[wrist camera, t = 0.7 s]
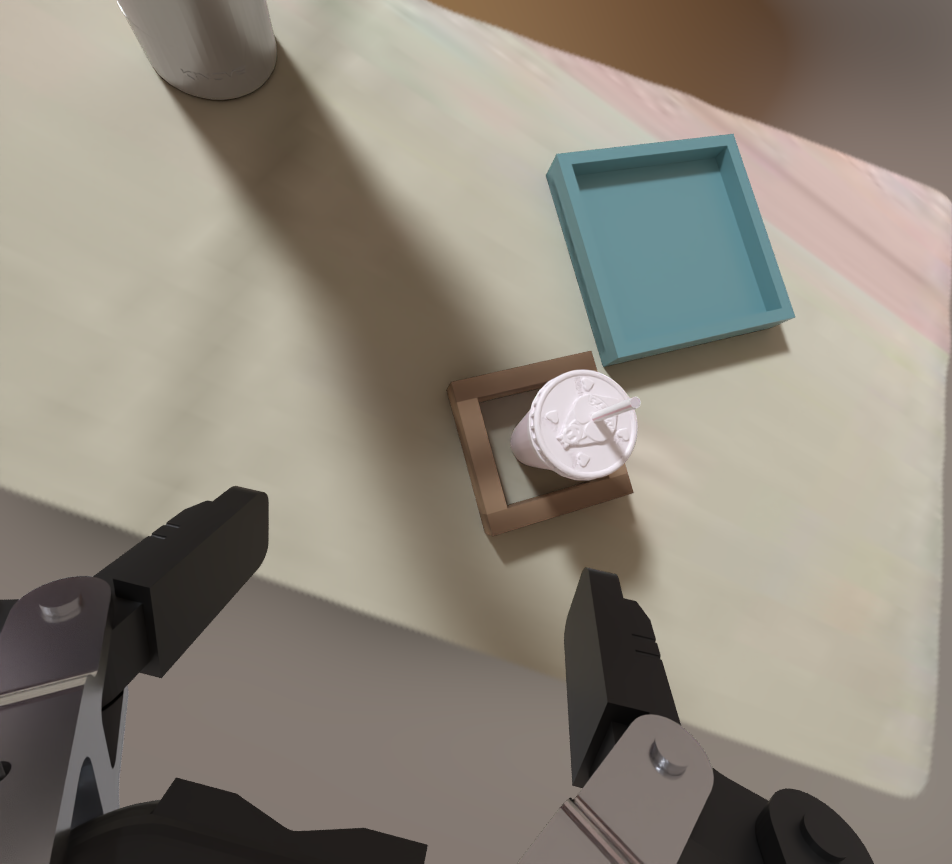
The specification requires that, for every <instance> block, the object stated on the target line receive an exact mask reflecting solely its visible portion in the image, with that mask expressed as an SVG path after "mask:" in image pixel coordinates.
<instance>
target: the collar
mask: <svg viewBox="0 0 952 864" xmlns="http://www.w3.org/2000/svg"><path fill="white" fill-rule="evenodd" d="M573 370H592V371H596V372H598V371H597V368H596V365H595V361H594V358H593V355H592V351H588V352H583V353H579V354H574V355H570V356H565V357H561V358H556V359H552V360H547V361H543V362H538V363H534V364H529V365H525V366H520V367H516V368H511V369H507V370H502V371H498V372H494V373H489V374H485V375H480V376H476V377H471V378H467V379H462V380H458V381H453V382H451V383H450V385H449V387H448V388H447V393H448V397H449V401H450V405H451V408H452V412H453V416H454V419H455V423H456V427H457V431H458V434H459V438H460V442H461V446H462V449H463V453H464V457H465V460H466V464H467V468H468V472H469V475H470V479H471V483H472V487H473V490H474V494H475V498H476V501H477V505H478V509H479V513H480V516H481V520H482V524H483V528H484V531H485V533H486V534H488V535H491V536H495V535H498V534H502V533H505V532H508V531H511V530H515V529H518V528H521V527H524V526H528V525H531V524H534V523H537V522H541V521H544V520H547V519H550V518H554V517H557V516H560V515H563V514H567V513H570V512H573V511H576V510H580V509H583V508H586V507H589V506H593V505H596V504H599V503H602V502H606V501H609V500H612V499H615V498H619V497H622V496H625V495H628V494H632V493H634V492H633V489H632V486H631V482H630V479H629V476H628V472H627V469H626V466H625V463H624V464H623V465H622V466H621V467H620V468H619V469H617V470H616V471H615V472H613V473H611V474H609V475H607V476H604V477H600V478H596V479H594V480H591V481H588V482H585V483H581V484H578V485H574V486H571V487H568V488H564V489H561V490H557V491H554V492H551V493H547V494H544V495H540V496H537V497H534V498H530V499H527V500H523V501H520V502H517V503H513V504H510V505H506V501H505V497H504V494H503V490H502V486H501V483H500V479H499V476H498V472H497V468H496V465H495V461H494V457H493V454H492V450H491V446H490V443H489V439H488V435H487V432H486V428H485V424H484V421H483V417H482V413H481V410H480V406H479V402H484V401H488V400H492V399H496V398H501V397H505V396H509V395H513V394H517V393H522V392H526V391H530V390H534V389H539V388H542V387H543V386H544V385H545V384H546V383H547V382H548V381H550V380H552V379H554V378H556V377H558V376H559V375H562V374H564V373H566V372H569V371H573Z"/></svg>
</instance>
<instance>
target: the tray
mask: <svg viewBox="0 0 952 864" xmlns="http://www.w3.org/2000/svg"><path fill="white" fill-rule="evenodd" d="M546 177H547V181H548V184H549V187H550V191H551V194H552V197H553V201H554V204H555V207H556V211H557V214H558V217H559V221H560V224H561V227H562V231H563V234H564V237H565V241H566V244H567V247H568V251H569V254H570V258H571V261H572V264H573V268H574V271H575V274H576V278H577V281H578V284H579V288H580V291H581V294H582V298H583V301H584V304H585V308H586V311H587V314H588V318H589V321H590V324H591V328H592V331H593V334H594V338H595V341H596V344H597V348H598V351H599V355H600V358H601V361H602V365H603V367H605V366H609V365H614V364H618V363H622V362H626V361H631V360H635V359H639V358H644V357H648V356H652V355H656V354H661V353H665V352H669V351H674V350H678V349H682V348H686V347H691V346H695V345H699V344H704V343H708V342H712V341H716V340H721V339H725V338H729V337H734V336H738V335H742V334H746V333H751V332H755V331H759V330H764V329H768V328H772V327H774V326H776V325H779V324H781V323H783V322H785V321H788V320H790V319H792V318H795V315H794V312H793V309H792V306H791V303H790V300H789V297H788V294H787V291H786V288H785V285H784V282H783V279H782V276H781V273H780V270H779V267H778V264H777V262H776V259H775V256H774V253H773V250H772V247H771V244H770V241H769V238H768V235H767V232H766V229H765V226H764V223H763V220H762V217H761V214H760V211H759V208H758V205H757V202H756V199H755V196H754V194H753V191H752V188H751V185H750V182H749V179H748V176H747V173H746V170H745V167H744V164H743V161H742V158H741V155H740V152H739V149H738V146H737V143H736V140H735V137H734V134H728V135H719V136H710V137H702V138H693V139H684V140H675V141H666V142H658V143H649V144H640V145H631V146H623V147H614V148H605V149H596V150H587V151H579V152H570V153H561V154H557V155H556V157H555V158H554V160H553V162H552V164H551V166H550V168H549V170H548V172H547V174H546Z"/></svg>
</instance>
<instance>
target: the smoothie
mask: <svg viewBox="0 0 952 864" xmlns="http://www.w3.org/2000/svg"><path fill="white" fill-rule="evenodd" d="M640 404H641V402H640V399H639V398H637V397H632V398H629V396H628V395H627V393H626V392H625V391H624V390H623V388H622V387H621V386H620V385H619V384H618V383H616V382H615V381H614V380H613V379H611V378H610V377H608V376H606V375H604V374H602V373H599V372H596V371H592V370H573V371H569V372H566V373H564V374H562V375H559V376H558V377H556V378H554V379H552V380H550V381H548V382H547V383H546V384H545V385H544V386H543V387H542V388H541V389H540V390H539V392H538V393H537V395H536V397H535V398H534V400H533V402H532V405H531V409H530V410H529V412H528V413H527V414H526V415H525V416H524V418H523V419H522V420H521V421H520V422H519V424H518V425H517V426H516V427H515V429H514V430H513V432H512V435H511V441H510V443H511V449H512V452H513V454H514V455H515V457H516V458H517V459H518V460H519V461H520V462H521V463H523V464H525V465H527V466H532V467H537V468H543V469H548V470H553V471H555V472H556V473H558V474H559V475H561V476H563V477H567V478H570V479H573V480H592V479H596V478H600V477H604V476H607V475H609V474H611V473H613V472H615V471H616V470H617V469H619V468H620V467H621V466H622V465H623V464H624V463H625V462H626V461H627V459H628V458H629V456H630V455H631V453H632V451H633V449H634V446H635V443H636V439H637V429H638V426H637V417H636V413H635V409H636V408H638V407H639V406H640Z"/></svg>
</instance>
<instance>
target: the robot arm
mask: <svg viewBox="0 0 952 864" xmlns="http://www.w3.org/2000/svg"><path fill="white" fill-rule="evenodd" d="M117 2H118V4H119V6H120V8H121V10H122V12H123V13H124V15H125V17H126V19H127V21H128V23H129V25H130V26H131V28H132V30H133V32H134V34H135V36H136V37H137V39H138V41H139V43H140V45H141V47H142V49H143V50H144V52H145V54H146V56H147V58H148V60H149V62H150V63H151V65H152V66H153V68H154V69H155V70H156V71H157V73H158V74H159V75H160V76H161V77H162V78H163V79H165V80H166V81H167V82H168V83H169V84H171V85H172V86H174V87H176V88H177V89H179V90H181V91H183V92H185V93H188V94H191V95H193V96H196V97H201V98H206V99H214V100H226V99H232V98H238V97H241V96H244V95H246V94H249V93H251V92H253V91H254V90H256V89H257V88H259V87H261V86H262V85H263V84H264V83H265V81H266V80H267V79H268V78H269V77H270V75H271V73H272V71H273V70H274V67H275V63H276V59H277V45H276V41H275V37H274V33H273V28H272V24H271V20H270V15H269V11H268V7H267V3H266V0H117ZM268 529H269V502H268V496H267V494H266V493H265V492H260V491H256V490H252V489H247V488H243V487H239V486H233V487H231V488H229V489H228V490H227V491H226V492H224V493H223V494H222V495H220V496H219V497H218V498H216V499H215V500H214V501H213V502H212V501H205V502H202V503H200V504H197V505H195V506H192V507H190V508H187V509H185V510H183V511H182V512H180V513H179V514H178V515H176V516H175V517H174V518H172V519H171V520H169V521H168V522H167V524H166V525H163V526H161V527H160V528H159V529H157V530H156V531H154V532H153V533H152V535H151V537H150V536H148V537H146V538H145V539H144V540H142V541H141V542H140V543H138V544H137V545H135V546H134V547H133V548H131V549H130V550H129V551H127V552H126V553H125V554H123V555H122V556H120V557H119V558H118V559H116V560H115V561H114V562H112V563H111V564H109V565H108V566H107V567H105V568H104V569H103V570H101V571H100V572H99V573H97V574H96V575H94V576H93V577H91V576H76V577H68V578H64V579H59V580H56V581H52V582H50V583H47V584H44V585H42V586H40V587H38V588H36V589H34V590H32V591H31V592H29V593H28V594H26V595H24V596H23V597H22V598H21V599H17V600H0V864H424V861H425V856H426V851H427V845H426V844H422V843H418V842H415V841H411V840H408V839H404V838H400V837H396V836H393V835H389V834H385V833H381V832H378V831H374V830H370V829H366V828H353V829H335V830H315V831H292V830H289V829H287V828H285V827H284V826H282V825H281V824H279V823H278V822H276V821H275V820H274V819H272V818H271V817H269V816H268V815H266V814H265V813H263V812H262V811H261V810H259V809H258V808H256V807H255V806H253V805H252V804H251V803H249V802H247V801H246V800H245V799H243V798H242V797H241V796H239V795H238V794H236V793H232V792H228V791H225V790H221V789H217V788H213V787H209V786H205V785H202V784H198V783H195V782H191V781H187V780H183V779H180V778H175V780H174V781H173V783H172V784H171V786H170V787H169V789H168V790H167V792H166V793H165V794H164V796H163V798H162V799H161V800H155V801H150V802H144V803H139V804H134V805H130V806H127V807H123V808H120V805H119V778H120V768H121V759H122V750H123V740H124V731H125V721H126V711H127V702H128V686H127V685H128V684H129V683H130V682H131V681H132V680H133V678H134V677H135V676H136V675H137V674H138V673H143V674H147V675H151V676H155V677H159V678H162V677H163V676H164V675H165V674H166V672H167V671H168V670H169V669H170V668H171V667H172V665H174V663H175V662H176V661H177V660H178V659H179V658H180V657H181V655H182V654H183V653H184V652H185V651H186V650H187V649H188V648H189V646H190V645H191V644H192V643H193V642H194V641H195V640H196V638H197V637H198V636H199V635H200V634H201V633H202V632H203V631H204V629H205V628H206V627H207V626H208V625H209V624H210V623H211V621H212V620H213V619H214V618H215V617H216V616H217V615H218V614H219V612H220V611H221V610H222V609H223V608H224V607H225V606H226V604H227V603H228V602H229V601H230V600H231V599H232V598H233V597H234V595H235V594H236V593H237V592H238V591H239V590H240V588H241V587H242V586H243V585H244V584H245V583H246V582H247V581H248V580H249V578H250V577H251V576H252V575H253V574H254V573H255V572H256V570H257V569H258V568H259V567H260V565H261V564H262V562H263V560H264V558H265V556H266V553H267V549H268ZM655 641H656V638H655V635H654V632H653V628H652V625H651V621H650V619H649V618H648V616H647V615H646V614H645V612H644V611H643V610H642V608H641V607H640V606H639V604H638V603H637V601H633V600H628V599H624V598H623V595H622V591H621V586H620V582H619V578H618V576H617V575H616V574H613V573H608V572H604V571H600V570H595V569H591V568H587V567H586V568H584V570H583V572H582V574H581V577H580V580H579V583H578V586H577V589H576V592H575V595H574V598H573V601H572V604H571V607H570V610H569V613H568V616H567V620H566V625H565V633H564V648H565V665H566V682H567V698H568V715H569V734H570V751H571V768H572V785H573V786H576V787H580V788H583V789H582V790H581V791H580V793H579V794H578V795H577V796H576V797H575V798H574V799H572V798H569V799H568V800H566V801H565V802H564V804H563V805H562V806H561V807H560V808H559V810H558V811H557V812H556V814H555V815H554V816H553V817H552V818H551V820H550V821H549V822H548V824H547V825H546V826H545V828H544V829H543V830H542V831H541V833H540V834H539V836H538V837H537V838H536V839H535V841H534V842H533V843H532V844H531V846H530V847H529V848H528V850H527V851H526V852H525V854H524V855H523V856H522V858H521V859H520V860H519V861H518V863H517V864H874V863H873V861H872V859H871V857H870V855H869V853H868V851H867V849H866V848H865V846H864V844H863V843H862V842H861V840H860V839H859V837H858V836H857V834H856V833H855V832H854V831H853V829H852V828H851V827H850V826H849V825H848V824H847V823H846V822H845V821H844V820H843V819H842V818H841V817H840V816H839V815H838V814H837V813H836V812H835V811H834V810H832V809H831V808H830V807H829V806H827V805H826V804H825V803H823V802H822V801H820V800H818V799H817V798H815V797H813V796H811V795H809V794H808V793H805V792H802V791H800V790H795V789H782V790H779V791H777V792H775V794H774V795H773V796H772V797H771V799H770V800H769V801H768V800H766V799H764V798H762V797H761V796H759V795H757V794H755V793H753V792H751V791H750V790H748V789H746V788H744V787H743V786H741V785H739V784H737V783H736V782H734V781H732V780H730V779H728V778H727V777H725V776H724V775H722V774H720V773H719V772H718V771H716V770H715V769H714V768H712V766H711V763H710V760H709V758H708V756H707V754H706V752H705V751H704V749H703V748H702V746H701V745H700V744H699V742H698V741H697V740H696V739H695V738H694V737H693V735H692V734H690V733H689V732H688V731H687V730H686V729H685V728H683V727H682V726H681V724H680V720H679V717H678V714H677V710H676V707H675V703H674V700H673V696H672V693H671V690H670V686H669V683H668V679H667V676H666V673H665V669H664V666H663V662H662V660H660V656H661V655H660V652H659V649H658V645H657V643H655Z"/></svg>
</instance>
